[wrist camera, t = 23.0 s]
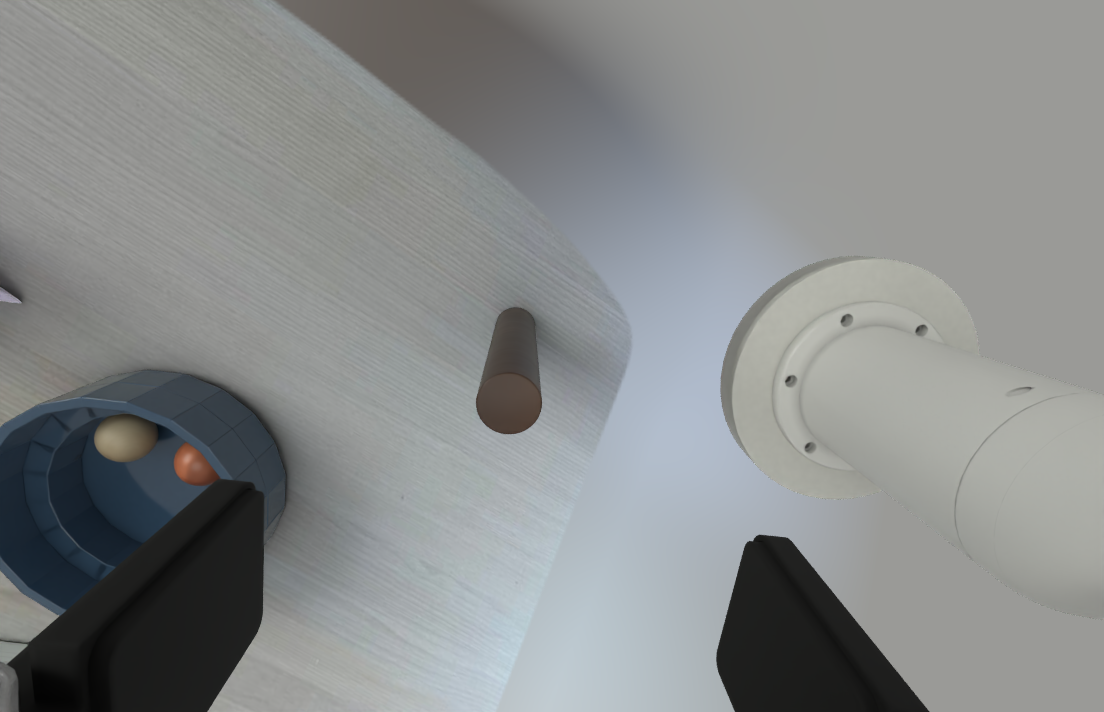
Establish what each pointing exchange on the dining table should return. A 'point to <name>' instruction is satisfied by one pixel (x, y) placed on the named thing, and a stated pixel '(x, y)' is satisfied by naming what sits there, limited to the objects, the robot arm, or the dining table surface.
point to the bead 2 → (193, 467)
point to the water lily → (7, 297)
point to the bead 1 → (125, 437)
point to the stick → (511, 375)
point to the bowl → (116, 477)
